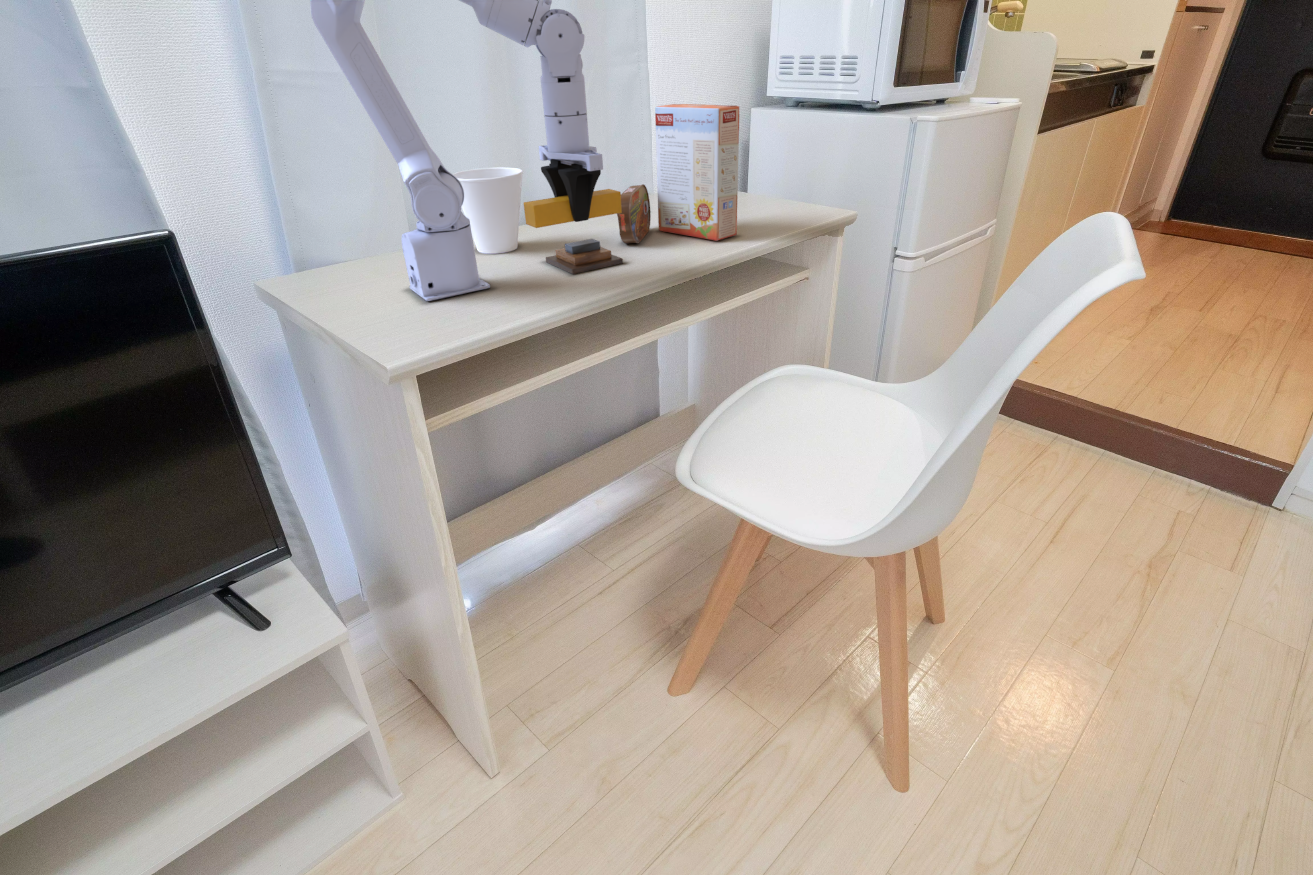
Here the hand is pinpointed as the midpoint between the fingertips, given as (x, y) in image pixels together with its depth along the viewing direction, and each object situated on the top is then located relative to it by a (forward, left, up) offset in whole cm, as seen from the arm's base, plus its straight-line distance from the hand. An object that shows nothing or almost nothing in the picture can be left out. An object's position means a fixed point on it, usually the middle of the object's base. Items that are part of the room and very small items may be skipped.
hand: (574, 218), depth 100 cm
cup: (-3, +24, -9) cm, 26 cm away
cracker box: (+29, +9, -9) cm, 32 cm away
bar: (0, 0, 0) cm, 0 cm away
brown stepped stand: (+4, +6, -8) cm, 11 cm away
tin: (+19, +14, -9) cm, 26 cm away
